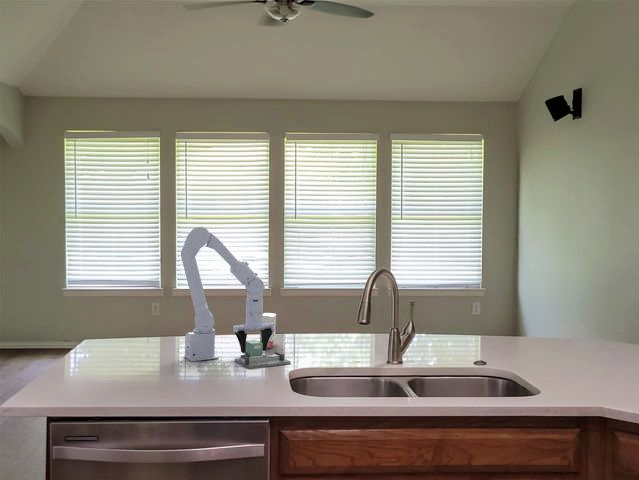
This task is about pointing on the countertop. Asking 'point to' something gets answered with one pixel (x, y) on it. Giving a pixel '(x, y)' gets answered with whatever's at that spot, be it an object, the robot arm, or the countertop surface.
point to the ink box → (271, 319)
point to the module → (253, 348)
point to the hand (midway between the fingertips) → (253, 351)
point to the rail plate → (262, 360)
